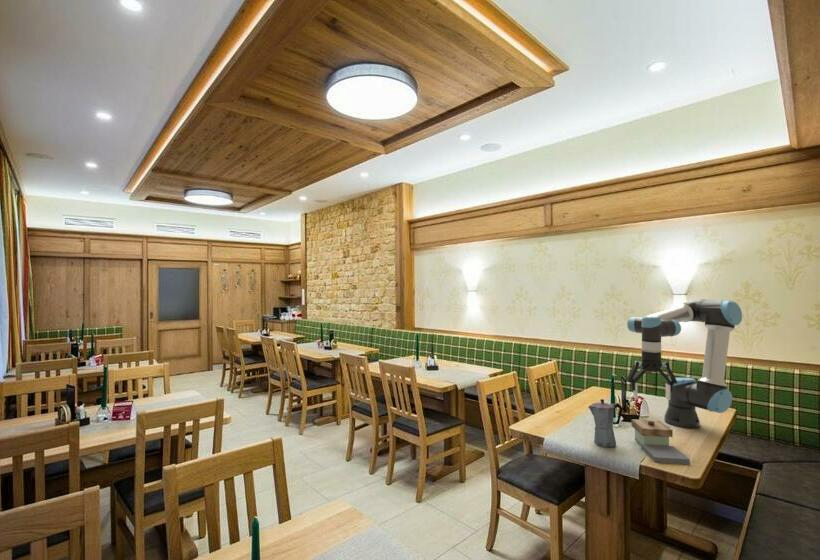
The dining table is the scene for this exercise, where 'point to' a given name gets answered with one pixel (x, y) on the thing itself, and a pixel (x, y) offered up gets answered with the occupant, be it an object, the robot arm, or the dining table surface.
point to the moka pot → (604, 423)
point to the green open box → (651, 439)
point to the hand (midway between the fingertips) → (651, 398)
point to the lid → (651, 428)
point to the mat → (665, 454)
